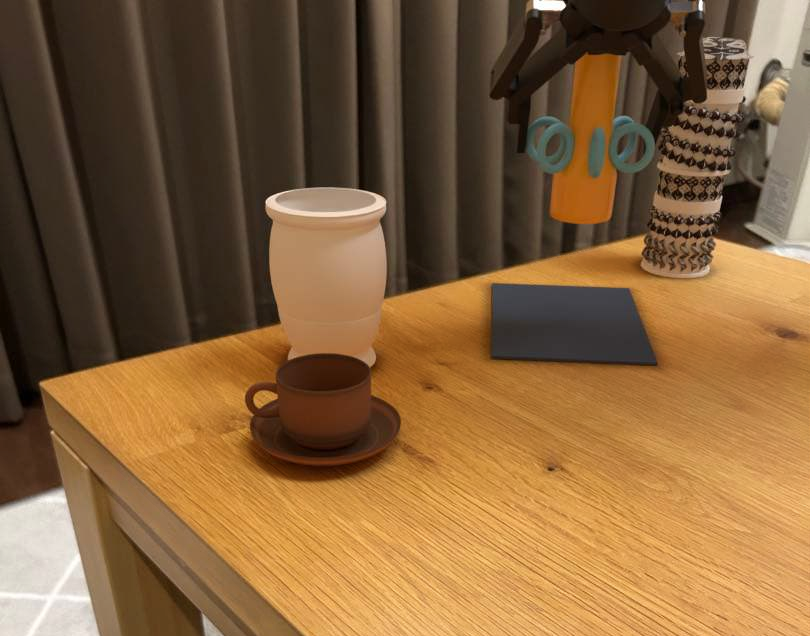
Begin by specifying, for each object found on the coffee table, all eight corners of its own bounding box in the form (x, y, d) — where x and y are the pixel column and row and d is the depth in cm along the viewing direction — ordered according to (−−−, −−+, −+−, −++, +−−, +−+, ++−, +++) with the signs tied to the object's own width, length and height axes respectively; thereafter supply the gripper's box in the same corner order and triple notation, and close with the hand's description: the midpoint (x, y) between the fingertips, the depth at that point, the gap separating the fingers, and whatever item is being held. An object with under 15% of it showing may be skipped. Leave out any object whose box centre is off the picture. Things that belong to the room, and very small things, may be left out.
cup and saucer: (274, 492, 64) (267, 417, 60) (237, 423, 73) (229, 354, 69) (423, 463, 67) (425, 390, 64) (370, 400, 77) (369, 333, 73)
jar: (404, 352, 86) (406, 193, 77) (356, 392, 78) (352, 220, 69) (311, 334, 89) (302, 180, 81) (256, 371, 81) (240, 205, 73)
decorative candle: (635, 254, 113) (670, 34, 99) (708, 258, 112) (754, 36, 98) (638, 276, 106) (677, 41, 91) (717, 281, 105) (768, 44, 90)
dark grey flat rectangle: (657, 365, 83) (657, 362, 83) (491, 358, 85) (491, 355, 84) (628, 290, 102) (629, 288, 101) (492, 285, 103) (492, 282, 102)
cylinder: (569, 239, 78) (590, 48, 69) (497, 214, 85) (508, 38, 77) (664, 220, 83) (694, 41, 75) (590, 198, 91) (609, 33, 82)
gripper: (460, -9, 62) (458, 174, 83) (801, -5, 60) (709, 180, 81) (465, -99, 63) (462, 104, 84) (799, -97, 61) (709, 109, 83)
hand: (584, 142), depth 83 cm, fingers closed on cylinder, 11 cm apart
